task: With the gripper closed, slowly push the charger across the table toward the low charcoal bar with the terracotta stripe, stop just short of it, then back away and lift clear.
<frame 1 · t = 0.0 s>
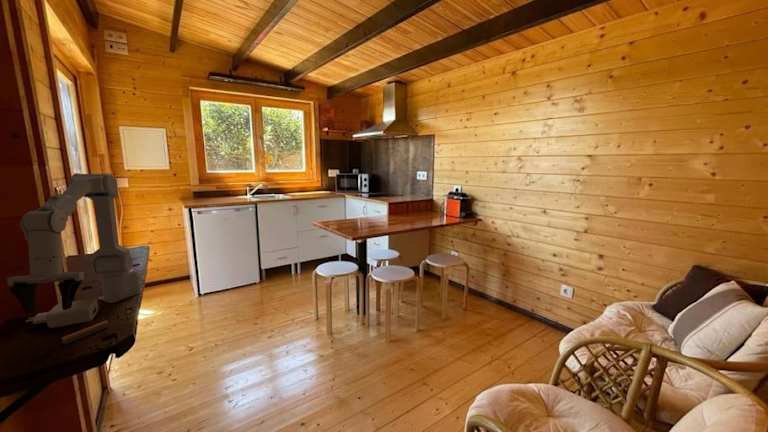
hand: (48, 310, 82), 11 cm above the table, tool pointing down, fingers open, 7 cm apart
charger: (63, 322, 97), on the table
band: (87, 334, 90), on the table
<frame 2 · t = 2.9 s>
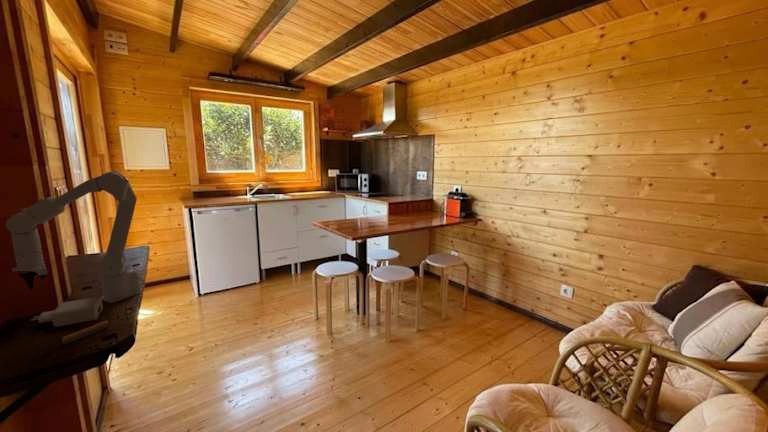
hand: (36, 292, 102), 6 cm above the table, tool pointing down, fingers closed
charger: (68, 321, 98), on the table
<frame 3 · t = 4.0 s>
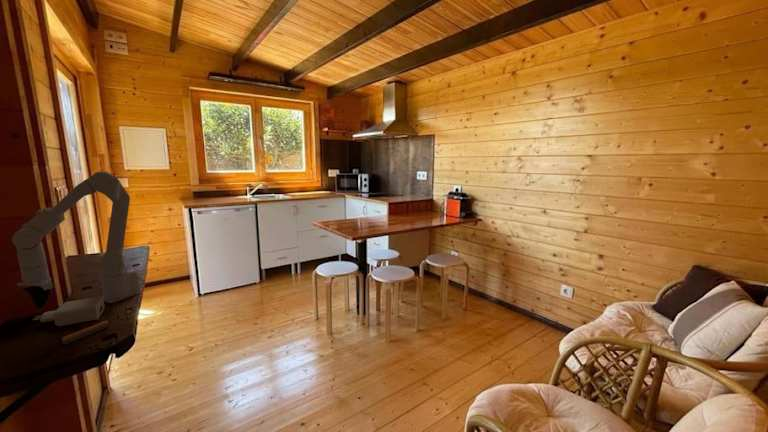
hand: (41, 306, 102), 2 cm above the table, tool pointing down, fingers closed
nothing on the table moved.
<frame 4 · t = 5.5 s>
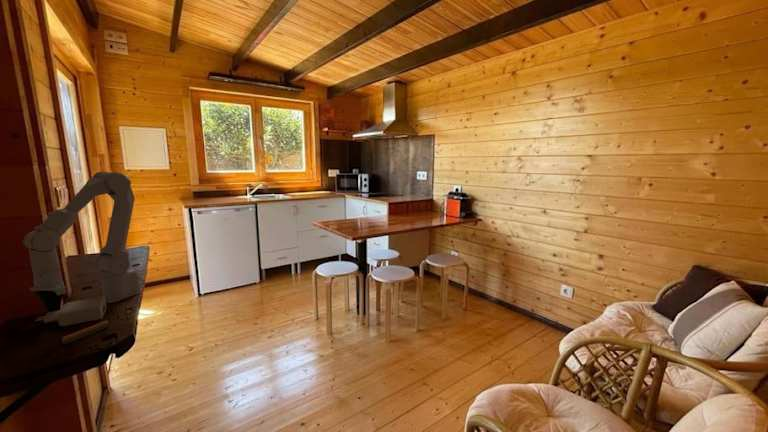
hand: (54, 312, 99), 2 cm above the table, tool pointing down, fingers closed
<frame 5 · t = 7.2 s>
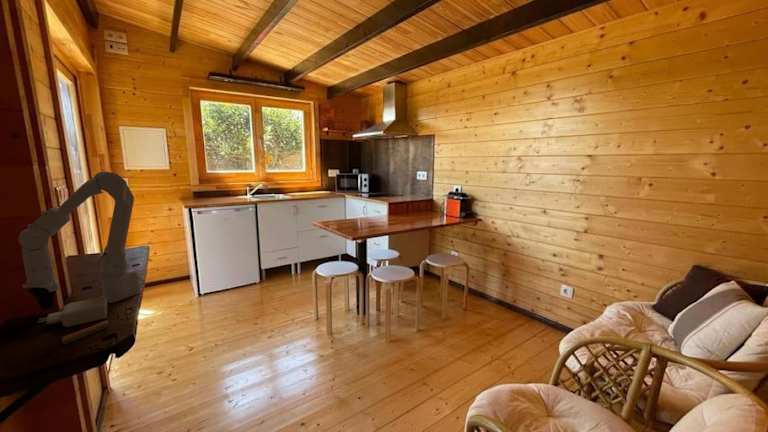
hand: (46, 308, 100), 2 cm above the table, tool pointing down, fingers closed
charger: (75, 321, 98), on the table
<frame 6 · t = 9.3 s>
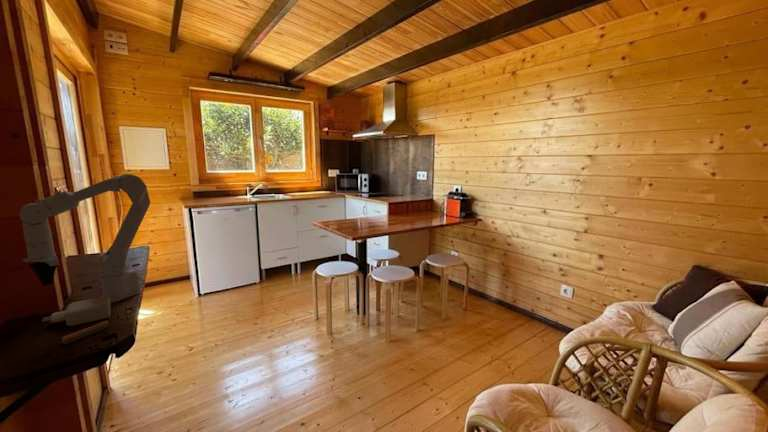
hand: (47, 284, 101), 9 cm above the table, tool pointing down, fingers closed
nothing on the table moved.
at the end: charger inside the target area (3.8 cm from its centre), on the table; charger moved 4.1 cm from its start; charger tilted 0° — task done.
